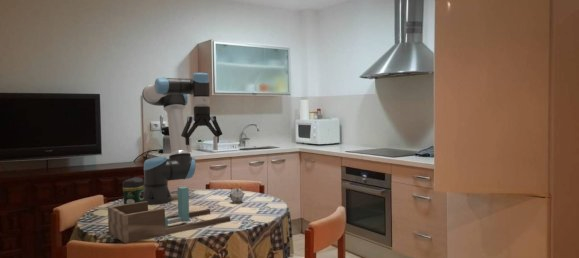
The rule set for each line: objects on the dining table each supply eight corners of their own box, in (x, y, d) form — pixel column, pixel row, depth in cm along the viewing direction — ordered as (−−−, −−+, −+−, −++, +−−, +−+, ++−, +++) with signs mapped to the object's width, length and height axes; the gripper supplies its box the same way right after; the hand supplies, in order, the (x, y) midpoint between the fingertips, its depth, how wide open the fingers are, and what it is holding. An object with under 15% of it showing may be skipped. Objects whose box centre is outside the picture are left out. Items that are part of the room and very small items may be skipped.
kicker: (149, 224, 172) (148, 188, 172) (179, 219, 181) (179, 184, 180) (163, 231, 162) (162, 193, 161) (194, 225, 170) (193, 189, 169)
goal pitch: (108, 231, 164) (107, 206, 164) (208, 213, 193) (208, 191, 192) (124, 243, 150) (123, 215, 149) (230, 221, 178) (229, 198, 178)
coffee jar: (130, 216, 188) (129, 176, 188) (147, 216, 188) (146, 176, 187) (120, 222, 179) (119, 179, 178) (138, 222, 178) (137, 179, 177)
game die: (239, 210, 213) (241, 197, 207) (224, 204, 215) (226, 191, 209) (246, 199, 220) (248, 186, 214) (232, 193, 222) (234, 180, 216)
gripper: (180, 105, 183) (181, 153, 184) (228, 105, 199) (229, 149, 200) (173, 106, 189) (174, 152, 190) (220, 106, 205) (221, 148, 206)
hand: (202, 151), depth 195 cm, fingers open, 13 cm apart
